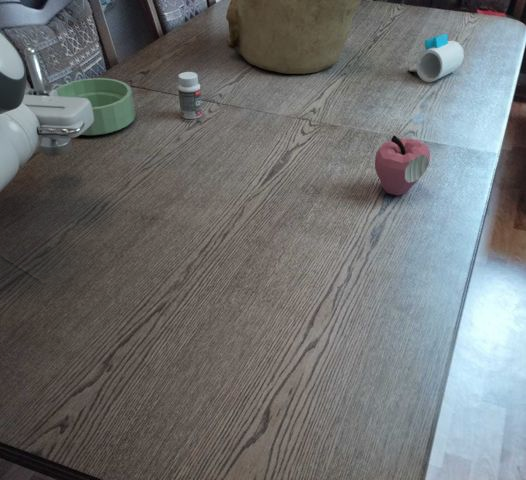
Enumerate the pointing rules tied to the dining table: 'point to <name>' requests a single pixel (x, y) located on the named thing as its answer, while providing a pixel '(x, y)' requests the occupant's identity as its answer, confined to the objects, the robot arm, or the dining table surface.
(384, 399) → the dining table surface
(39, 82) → the metal stand
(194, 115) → the pill bottle
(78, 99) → the robot arm
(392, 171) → the apple
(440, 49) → the mug
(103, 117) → the bowl
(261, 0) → the ceramic vessel
